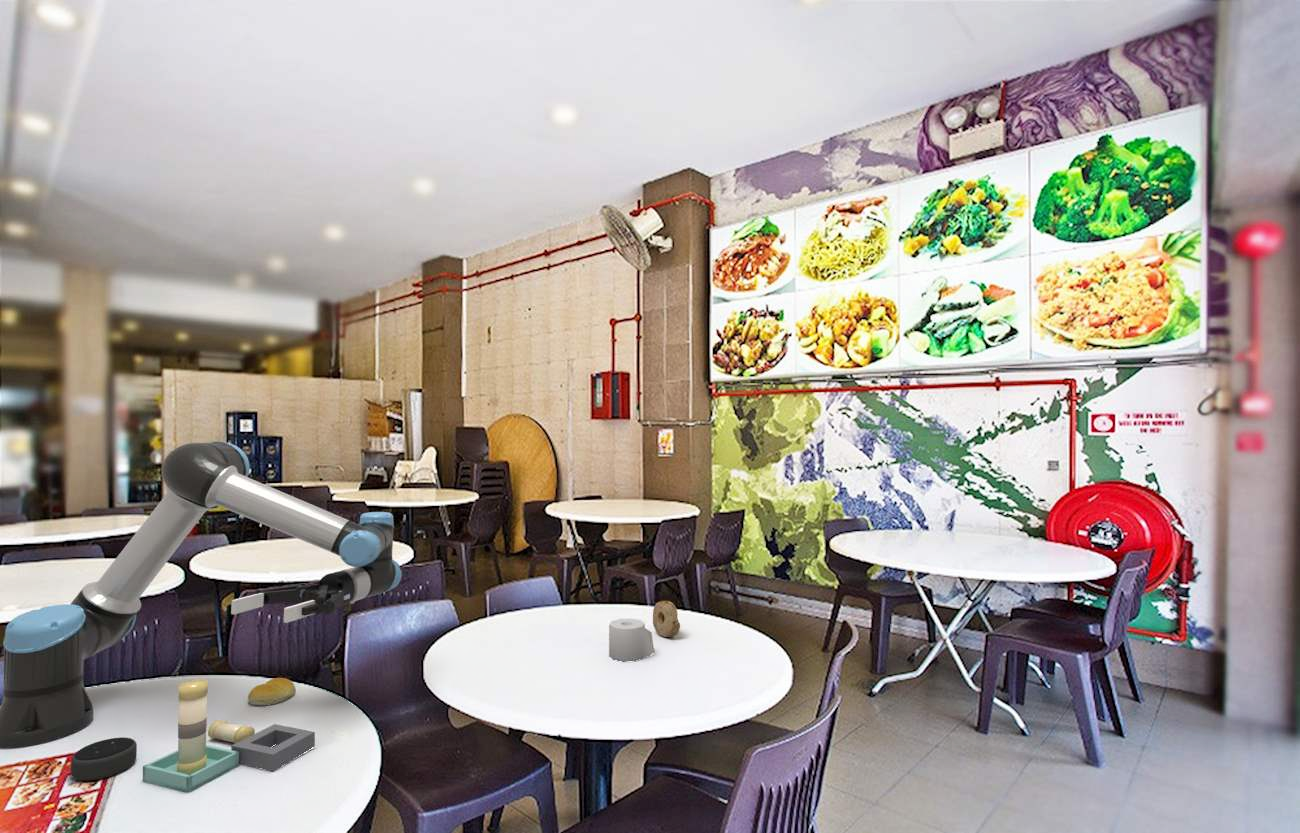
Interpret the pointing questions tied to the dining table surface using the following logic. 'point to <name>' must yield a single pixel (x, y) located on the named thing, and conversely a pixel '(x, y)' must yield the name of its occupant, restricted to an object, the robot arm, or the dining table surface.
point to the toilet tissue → (629, 640)
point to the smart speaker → (103, 759)
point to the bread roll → (272, 692)
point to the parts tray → (216, 766)
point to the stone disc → (665, 619)
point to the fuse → (229, 731)
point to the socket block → (286, 749)
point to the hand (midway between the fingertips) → (258, 611)
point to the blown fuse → (192, 726)
